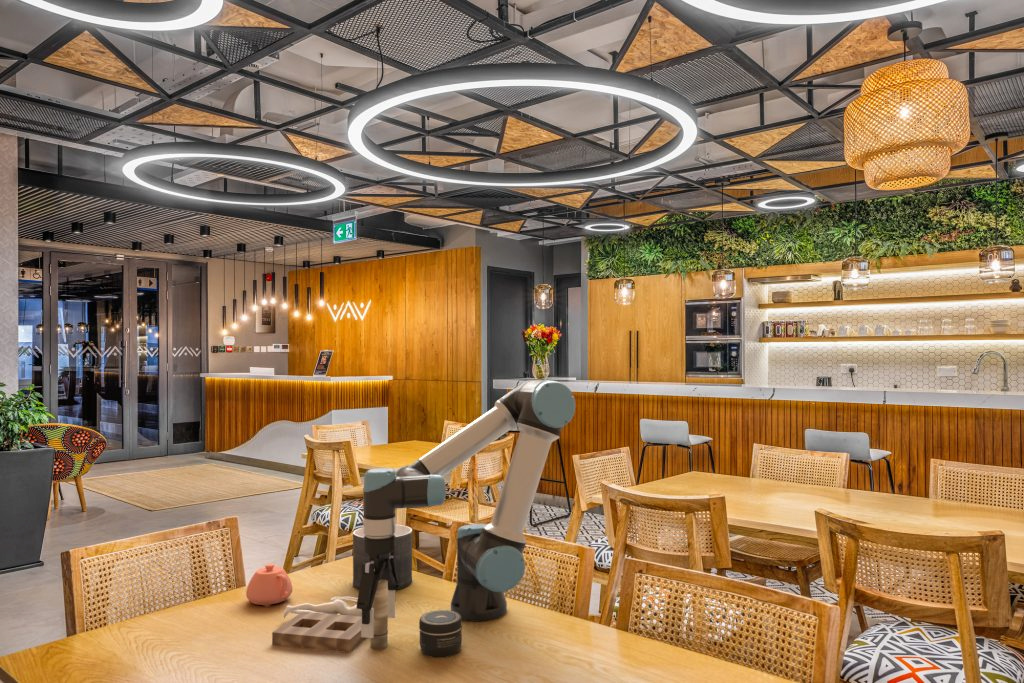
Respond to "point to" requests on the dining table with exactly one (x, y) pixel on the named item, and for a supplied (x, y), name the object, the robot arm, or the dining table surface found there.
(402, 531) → the planter
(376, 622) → the leg
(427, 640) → the jar
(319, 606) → the figurine
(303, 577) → the dining table surface
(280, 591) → the sugar bowl
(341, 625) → the board
